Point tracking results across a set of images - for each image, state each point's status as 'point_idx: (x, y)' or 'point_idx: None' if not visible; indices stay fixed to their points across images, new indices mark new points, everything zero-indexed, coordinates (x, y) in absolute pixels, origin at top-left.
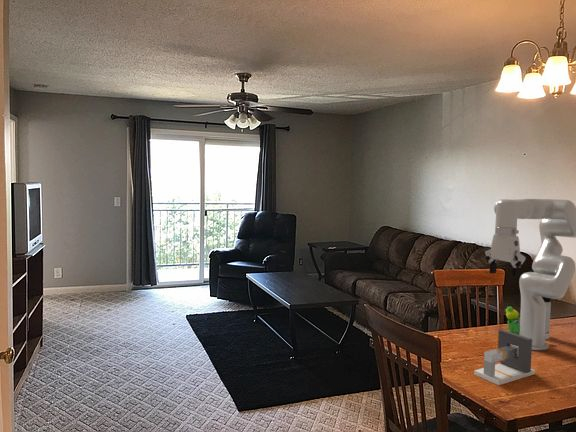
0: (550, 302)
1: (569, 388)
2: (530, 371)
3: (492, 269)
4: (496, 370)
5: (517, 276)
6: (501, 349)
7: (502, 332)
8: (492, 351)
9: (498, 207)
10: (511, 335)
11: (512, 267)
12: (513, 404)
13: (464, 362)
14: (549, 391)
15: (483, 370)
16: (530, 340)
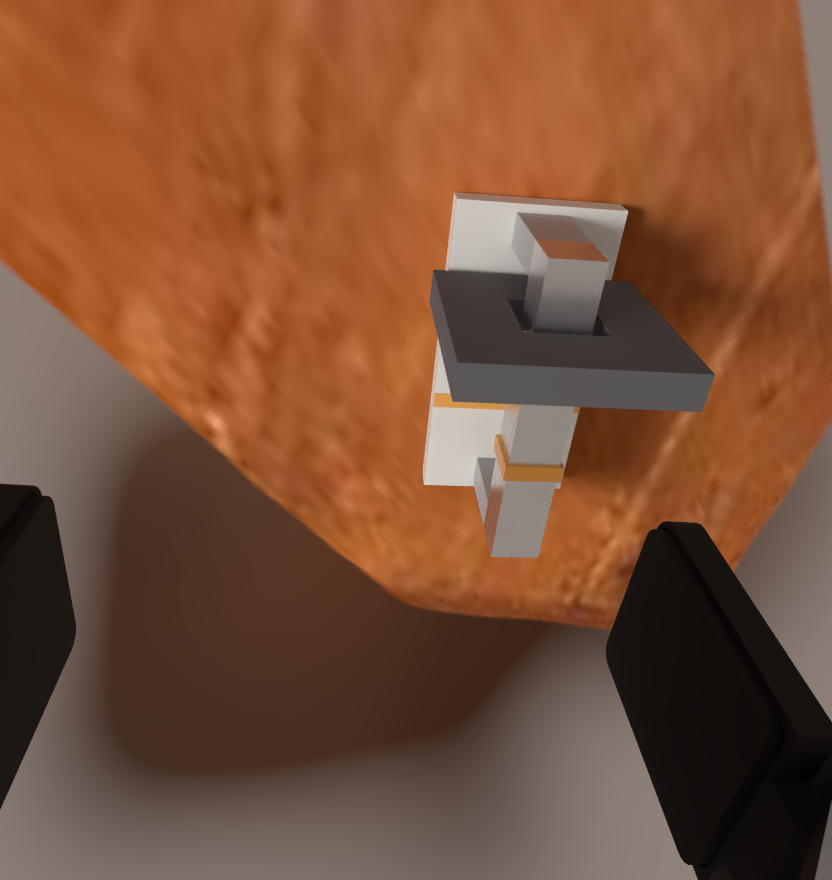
0: None
1: (816, 227)
2: (630, 284)
3: (33, 686)
4: (491, 403)
5: (699, 542)
6: (531, 457)
7: (485, 398)
8: (515, 521)
9: None
10: (563, 402)
11: (713, 869)
12: None
13: (291, 394)
14: (743, 347)
15: (450, 451)
16: (705, 388)
